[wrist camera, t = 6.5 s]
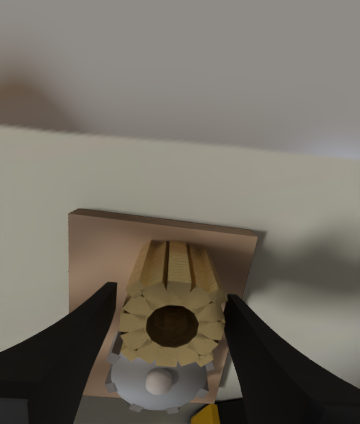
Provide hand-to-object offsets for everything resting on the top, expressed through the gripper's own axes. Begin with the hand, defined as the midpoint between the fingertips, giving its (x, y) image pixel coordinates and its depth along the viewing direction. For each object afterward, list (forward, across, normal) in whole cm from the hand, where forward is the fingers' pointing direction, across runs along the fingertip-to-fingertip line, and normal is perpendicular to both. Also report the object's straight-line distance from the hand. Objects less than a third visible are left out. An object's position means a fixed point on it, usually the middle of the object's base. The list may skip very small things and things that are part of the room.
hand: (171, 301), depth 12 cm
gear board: (+4, +1, +5) cm, 7 cm away
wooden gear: (+3, 0, 0) cm, 3 cm away
